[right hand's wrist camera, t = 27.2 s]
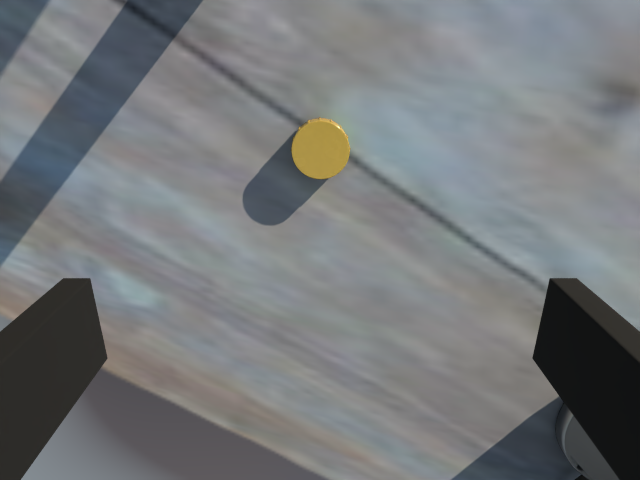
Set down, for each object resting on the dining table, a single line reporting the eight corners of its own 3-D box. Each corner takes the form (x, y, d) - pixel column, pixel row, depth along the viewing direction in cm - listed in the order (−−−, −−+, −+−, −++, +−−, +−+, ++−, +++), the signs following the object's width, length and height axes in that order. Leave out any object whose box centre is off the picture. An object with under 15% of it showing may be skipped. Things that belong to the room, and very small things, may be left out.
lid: (329, 184, 39) (329, 190, 37) (281, 155, 38) (280, 160, 36) (359, 137, 37) (361, 141, 36) (311, 106, 36) (310, 108, 35)
